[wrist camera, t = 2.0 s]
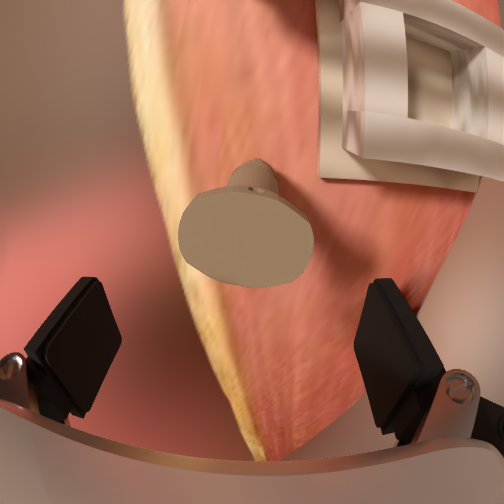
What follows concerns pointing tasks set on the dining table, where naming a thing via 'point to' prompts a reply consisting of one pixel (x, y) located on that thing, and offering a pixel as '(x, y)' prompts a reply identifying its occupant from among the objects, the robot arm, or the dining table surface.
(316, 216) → the dining table surface
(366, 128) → the socket holder
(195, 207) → the handle
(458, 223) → the dining table surface
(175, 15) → the dining table surface
